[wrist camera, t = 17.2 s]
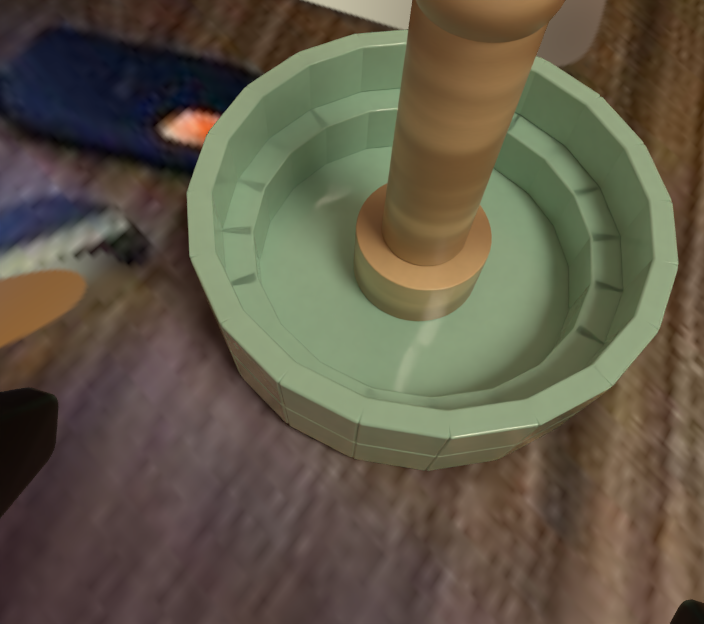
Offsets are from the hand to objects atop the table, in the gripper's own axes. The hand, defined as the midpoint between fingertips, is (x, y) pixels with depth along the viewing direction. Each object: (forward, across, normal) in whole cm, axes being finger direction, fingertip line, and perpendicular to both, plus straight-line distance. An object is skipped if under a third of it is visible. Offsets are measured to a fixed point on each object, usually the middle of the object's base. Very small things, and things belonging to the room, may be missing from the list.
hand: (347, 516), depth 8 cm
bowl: (+16, 0, 0) cm, 16 cm away
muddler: (+16, 0, 0) cm, 16 cm away
